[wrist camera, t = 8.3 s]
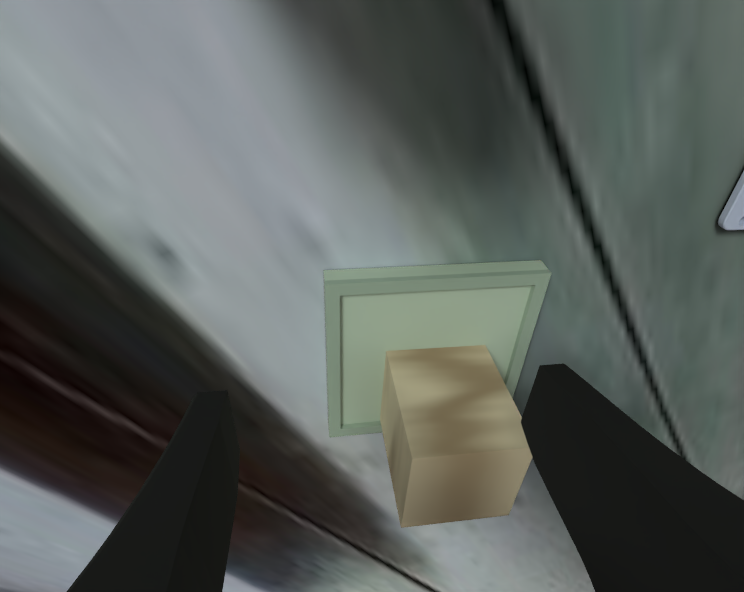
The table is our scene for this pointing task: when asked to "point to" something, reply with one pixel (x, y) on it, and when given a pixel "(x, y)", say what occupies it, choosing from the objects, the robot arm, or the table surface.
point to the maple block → (451, 435)
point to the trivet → (421, 325)
